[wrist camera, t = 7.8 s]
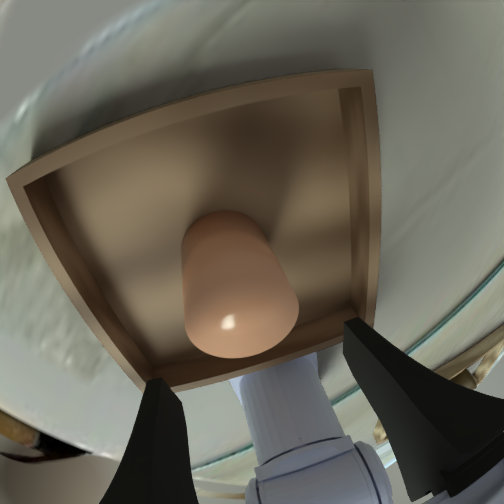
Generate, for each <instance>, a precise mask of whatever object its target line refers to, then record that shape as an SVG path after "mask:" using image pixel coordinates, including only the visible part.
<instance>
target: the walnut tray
mask: <svg viewBox="0 0 504 504" xmlns="http://www.w3.org/2000/svg"><path fill="white" fill-rule="evenodd" d="M6 181H7V183H8V186H9V188H10V190H11V193H12V195H13V197H14V199H15V202H16V204H17V206H18V208H19V210H20V212H21V214H22V217H23V219H24V221H25V223H26V225H27V227H28V229H29V231H30V233H31V234H32V236H33V238H34V240H35V242H36V244H37V246H38V248H39V249H40V251H41V253H42V255H43V257H44V258H45V260H46V262H47V263H48V265H49V267H50V269H51V270H52V272H53V274H54V275H55V277H56V279H57V280H58V282H59V283H60V285H61V287H62V288H63V290H64V291H65V293H66V294H67V296H68V297H69V299H70V300H71V302H72V303H73V305H74V306H75V308H76V309H77V311H78V312H79V314H80V315H81V317H82V318H83V319H84V321H85V322H86V324H87V325H88V326H89V328H90V329H91V330H92V332H93V333H94V334H95V336H96V337H97V338H98V340H99V341H100V342H101V344H102V345H103V346H104V348H105V349H106V350H107V351H108V353H109V354H110V355H111V356H112V358H113V359H114V360H115V361H116V363H117V364H118V365H119V366H120V367H121V369H122V370H123V371H124V372H125V373H126V375H127V376H128V377H129V378H130V379H131V380H132V381H133V383H134V384H135V385H136V386H137V387H138V388H139V389H140V390H141V392H142V393H144V390H145V386H146V382H147V381H148V380H151V379H156V378H160V377H162V378H163V379H164V381H165V382H166V383H167V385H168V386H169V387H170V388H171V390H172V391H173V392H174V393H176V392H180V391H185V390H189V389H193V388H198V387H202V386H206V385H210V384H214V383H217V382H221V381H225V380H229V379H232V378H236V377H239V376H243V375H246V374H250V373H253V372H256V371H260V370H263V369H266V368H269V367H273V366H276V365H279V364H282V363H285V362H288V361H291V360H294V359H297V358H300V357H303V356H305V355H308V354H311V353H314V352H317V351H319V350H322V349H325V348H327V347H330V346H333V345H335V344H338V343H341V342H343V331H344V322H345V321H348V320H350V319H353V318H355V317H360V318H361V319H362V320H363V321H364V322H366V323H367V324H368V325H369V326H370V327H371V328H373V326H374V317H375V308H376V298H377V287H378V275H379V259H380V238H381V164H380V143H379V128H378V116H377V105H376V95H375V87H374V79H373V71H372V70H365V69H336V70H325V71H316V72H307V73H299V74H292V75H286V76H279V77H273V78H267V79H262V80H257V81H251V82H246V83H242V84H237V85H232V86H228V87H224V88H220V89H215V90H211V91H207V92H204V93H200V94H196V95H193V96H189V97H185V98H182V99H179V100H175V101H172V102H169V103H166V104H162V105H159V106H156V107H153V108H150V109H147V110H144V111H142V112H139V113H136V114H133V115H131V116H128V117H125V118H123V119H120V120H117V121H115V122H112V123H110V124H107V125H105V126H102V127H100V128H98V129H95V130H93V131H91V132H88V133H86V134H84V135H82V136H79V137H77V138H75V139H73V140H71V141H69V142H66V143H64V144H62V145H60V146H58V147H56V148H54V149H52V150H50V151H48V152H46V153H44V154H42V155H41V156H39V157H37V158H35V159H33V160H31V161H30V162H28V163H27V164H25V165H24V166H22V167H21V168H19V169H18V170H16V171H15V172H14V173H12V174H11V175H10V176H8V177H7V178H6ZM224 210H228V211H236V212H240V213H243V214H245V215H247V216H249V217H250V218H252V219H253V220H254V221H255V222H256V223H257V224H258V225H259V226H260V228H261V229H262V231H263V233H264V235H265V237H266V239H267V241H268V243H269V245H270V246H271V248H272V250H273V252H274V254H275V256H276V258H277V260H278V262H279V264H280V265H281V267H282V269H283V271H284V273H285V275H286V277H287V279H288V281H289V283H290V285H291V287H292V288H293V290H294V292H295V294H296V297H297V299H298V304H299V313H298V317H297V321H296V323H295V325H294V327H293V328H292V330H291V331H290V332H289V334H288V335H287V336H286V337H285V338H284V339H283V340H282V341H280V342H279V343H278V344H277V345H275V346H273V347H272V348H270V349H268V350H266V351H264V352H262V353H259V354H256V355H253V356H249V357H243V358H222V357H217V356H213V355H210V354H208V353H205V352H203V351H202V350H200V349H199V348H197V347H196V346H195V345H194V344H193V343H192V342H191V340H190V339H189V337H188V335H187V333H186V330H185V322H184V308H183V291H182V271H181V244H182V240H183V237H184V235H185V233H186V231H187V230H188V229H189V227H190V226H191V225H192V224H193V223H194V222H195V221H197V220H198V219H199V218H201V217H203V216H205V215H207V214H209V213H212V212H216V211H224Z"/></svg>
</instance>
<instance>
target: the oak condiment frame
mask: <svg viewBox="0 0 504 504" xmlns="http://www.w3.org/2000/svg"><path fill="white" fill-rule="evenodd" d="M503 347H504V324H503V325H502V326H501V327H499V328H498V329H497V330H495V331H494V332H493V333H491V334H490V335H488V336H487V337H486V338H484V339H483V340H482V341H480V342H479V343H477V344H476V345H474V346H473V347H471V348H470V349H468V350H467V351H465V352H464V353H462V354H461V355H459V356H458V357H456V358H455V359H453V360H451V361H450V362H448V363H447V364H445V365H443V366H442V367H440V368H438V369H437V370H435V371H433V372H435V373H437V374H439V375H441V376H443V377H445V378H447V379H449V380H450V379H452V378H453V377H455V376H456V375H458V374H459V373H461V372H462V371H463V370H464V369H467V368H468V367H470V366H471V365H473V364H474V363H475V362H477V361H478V360H480V359H481V358H482V357H484V356H485V357H484V358H483V360H482V362H481V364H480V365H479V367H478V369H477V370H476V372H475V373H474V375H472V376H473V378H474V380H475V382H476V384H477V385H478V384H480V383H481V382H482V380H483V379H484V377H485V376H486V374H487V373H488V371H489V370H490V368H491V367H492V365H493V364H494V362H495V360H496V359H497V357H498V355H499V354H500V352H501V350H502V349H503ZM373 436H374V438H375V440H376V442H377V444H380V443H383V442H385V441H387V440H388V438H387V435H386V433H385V431H384V428H383V426H382V424H381V422H380V420H378V422H377V425H376V427H375V430H374V432H373Z"/></svg>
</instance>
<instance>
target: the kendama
mask: <svg viewBox="0 0 504 504" xmlns="http://www.w3.org/2000/svg"><path fill="white" fill-rule="evenodd" d="M450 380H451V381H453V382H455V383H457V384H460V385H462V386H464V387H467V388H469V389H472V390H474V389H475V388H476V387H477V384H476V382H475V380H474V378H473V376H472V375H471V373H470V372H469V371H468V370H467V369H464V370H463V371H462V372H461V373H459V374H458V375H456V376H455V377H453V378H452V379H450Z"/></svg>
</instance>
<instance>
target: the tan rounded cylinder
mask: <svg viewBox="0 0 504 504" xmlns="http://www.w3.org/2000/svg"><path fill="white" fill-rule="evenodd" d="M181 271H182V291H183V308H184V322H185V330H186V333H187V335H188V337H189V339H190V340H191V342H192V343H193V344H194V345H195V346H196V347H197V348H199V349H200V350H202V351H203V352H205V353H208V354H210V355H213V356H217V357H222V358H243V357H249V356H253V355H256V354H259V353H262V352H264V351H266V350H268V349H270V348H272V347H273V346H275V345H277V344H278V343H279V342H280V341H282V340H283V339H284V338H285V337H286V336H287V335H288V334H289V332H290V331H291V330H292V328H293V327H294V325H295V323H296V321H297V317H298V313H299V304H298V299H297V297H296V294H295V292H294V290H293V288H292V287H291V285H290V283H289V281H288V279H287V277H286V275H285V273H284V271H283V269H282V267H281V265H280V264H279V262H278V260H277V258H276V256H275V254H274V252H273V250H272V248H271V246H270V245H269V243H268V241H267V239H266V237H265V235H264V233H263V231H262V229H261V228H260V226H259V225H258V224H257V223H256V222H255V221H254V220H253V219H252V218H250V217H249V216H247V215H245V214H243V213H240V212H236V211H228V210H224V211H216V212H212V213H209V214H207V215H205V216H203V217H201V218H199V219H198V220H197V221H195V222H194V223H193V224H192V225H191V226H190V227H189V229H188V230H187V231H186V233H185V235H184V237H183V240H182V244H181Z"/></svg>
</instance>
